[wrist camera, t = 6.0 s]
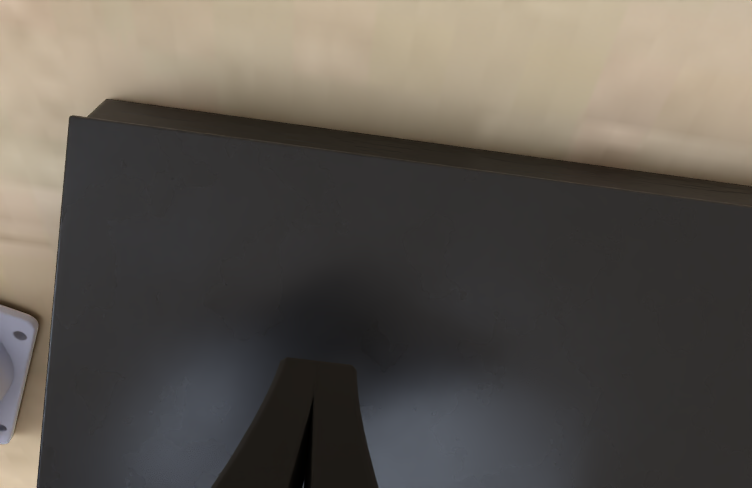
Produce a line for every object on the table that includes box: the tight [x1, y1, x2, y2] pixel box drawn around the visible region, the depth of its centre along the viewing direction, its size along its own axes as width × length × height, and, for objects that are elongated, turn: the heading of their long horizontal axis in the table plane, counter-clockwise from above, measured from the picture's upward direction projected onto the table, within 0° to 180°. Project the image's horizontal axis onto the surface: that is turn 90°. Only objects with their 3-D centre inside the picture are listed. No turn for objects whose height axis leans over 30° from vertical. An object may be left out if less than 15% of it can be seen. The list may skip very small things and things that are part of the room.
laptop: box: [87, 99, 752, 206], centre depth 24 cm, size 21×30×2 cm
